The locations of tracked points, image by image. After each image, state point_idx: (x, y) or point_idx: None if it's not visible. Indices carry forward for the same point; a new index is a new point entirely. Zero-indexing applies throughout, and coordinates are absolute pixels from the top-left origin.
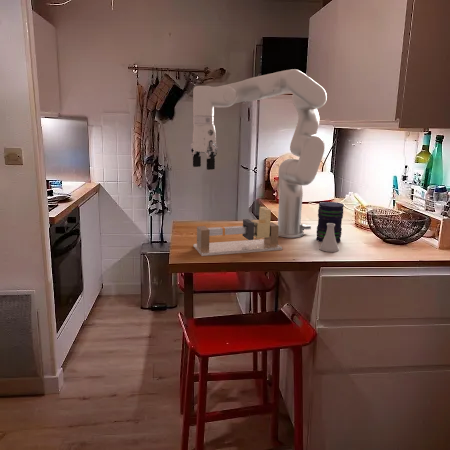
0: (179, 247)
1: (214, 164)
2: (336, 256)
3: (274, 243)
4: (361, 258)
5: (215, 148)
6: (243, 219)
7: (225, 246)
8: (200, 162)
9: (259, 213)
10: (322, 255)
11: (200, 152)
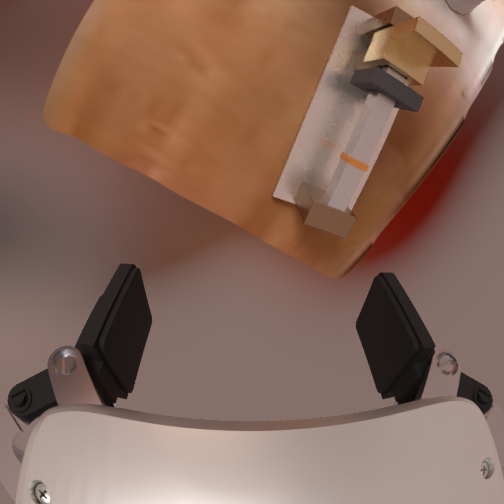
0: (258, 224)
1: (408, 300)
2: (482, 32)
3: None
4: (498, 23)
5: (498, 437)
6: (373, 82)
7: (341, 143)
8: (127, 295)
9: (402, 34)
10: (471, 39)
11: (105, 405)
